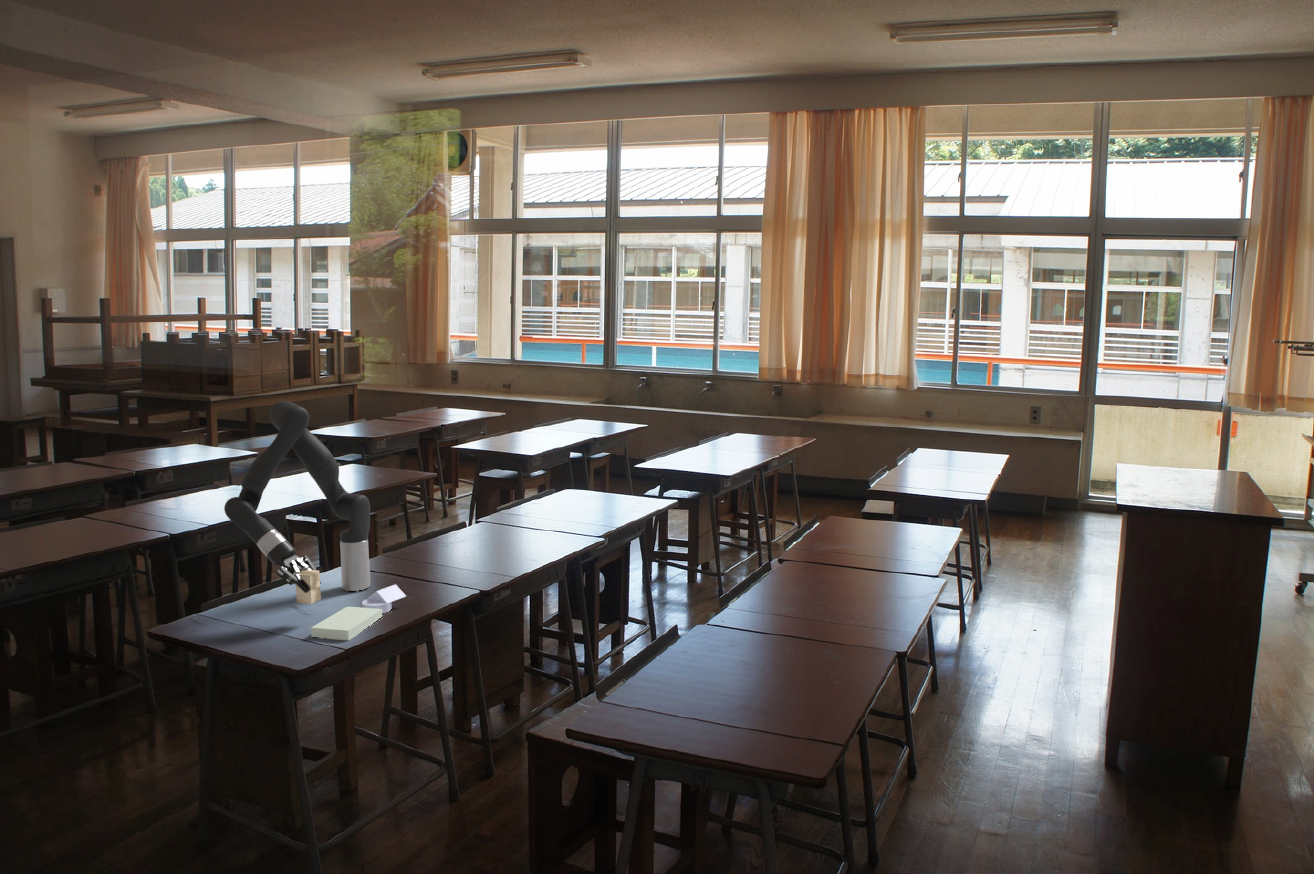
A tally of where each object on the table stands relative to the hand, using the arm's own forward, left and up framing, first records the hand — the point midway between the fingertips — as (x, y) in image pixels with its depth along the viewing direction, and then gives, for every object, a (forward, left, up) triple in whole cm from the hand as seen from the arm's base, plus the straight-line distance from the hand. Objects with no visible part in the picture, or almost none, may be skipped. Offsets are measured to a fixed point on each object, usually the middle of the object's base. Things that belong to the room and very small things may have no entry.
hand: (313, 587), depth 277 cm
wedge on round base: (-17, +13, -12) cm, 24 cm away
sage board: (+1, +12, -11) cm, 16 cm away
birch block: (0, -2, -4) cm, 5 cm away
